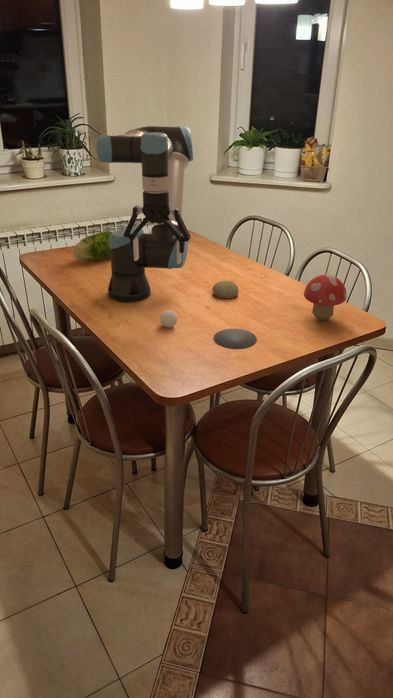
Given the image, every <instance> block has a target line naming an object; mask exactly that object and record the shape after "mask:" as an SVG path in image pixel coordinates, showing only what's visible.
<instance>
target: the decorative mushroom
mask: <svg viewBox="0 0 393 698" xmlns="http://www.w3.org/2000/svg"><path fill="white" fill-rule="evenodd" d="M303 296H304V299H306V301H308V302H309V303H311V304H313V305H312V311H311V313H312V315H313V316H314V317H315V318H316V319H318V320H320V321H325V320H329V319H330V318H331V317H333V315H334V311H335V310H334V309H335V306H339V305H341V304H344V303H345V301H346V300H347V289H346V287H345V284H344V283H343V281H342V280H340V279H339V278H338V277H336V276H334V275H332V274H320V275H316V276H315V277H313V278H312V279H311V280H310V281H309V282H308V283H307V284H306V286H305V288H304V292H303Z"/></svg>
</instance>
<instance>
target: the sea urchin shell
mask: <svg viewBox="0 0 393 698" xmlns="http://www.w3.org/2000/svg"><path fill="white" fill-rule="evenodd" d="M212 293H213V295H215V297H217V298H219V299H231V298H235V297H236V296H238V294H239V287H238V285H237V284H236V283H235V282H232V281H231V280H221V281H218V282H216V283H214V285H213V286H212Z"/></svg>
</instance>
